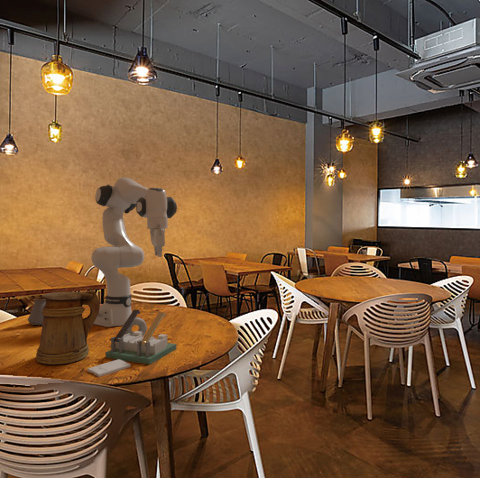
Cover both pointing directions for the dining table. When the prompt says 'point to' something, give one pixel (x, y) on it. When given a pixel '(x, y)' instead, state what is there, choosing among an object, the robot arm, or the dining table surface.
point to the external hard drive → (109, 367)
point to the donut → (140, 323)
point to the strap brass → (152, 328)
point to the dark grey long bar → (126, 325)
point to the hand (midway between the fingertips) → (158, 256)
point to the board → (140, 348)
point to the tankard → (66, 326)
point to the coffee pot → (37, 312)
